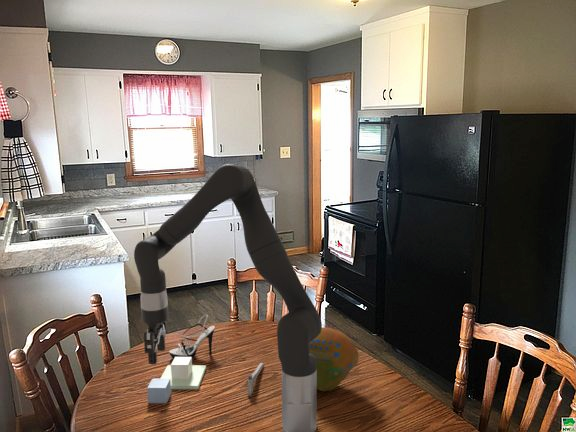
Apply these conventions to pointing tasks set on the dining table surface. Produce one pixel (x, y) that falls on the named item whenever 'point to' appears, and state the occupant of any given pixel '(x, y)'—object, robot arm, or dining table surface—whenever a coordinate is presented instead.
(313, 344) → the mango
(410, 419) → the dining table surface
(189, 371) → the white cube
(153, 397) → the brick top
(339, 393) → the dining table surface
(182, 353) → the sandal
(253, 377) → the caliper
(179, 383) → the base plate
